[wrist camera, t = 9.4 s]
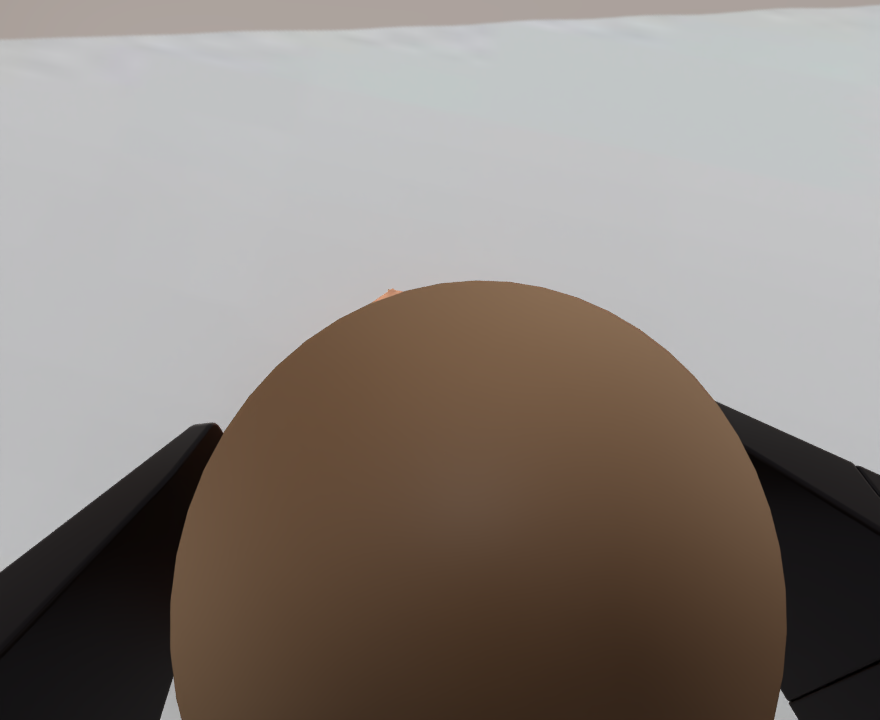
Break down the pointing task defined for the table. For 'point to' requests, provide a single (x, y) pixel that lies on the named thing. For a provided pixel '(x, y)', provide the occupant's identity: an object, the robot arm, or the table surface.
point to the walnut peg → (479, 528)
